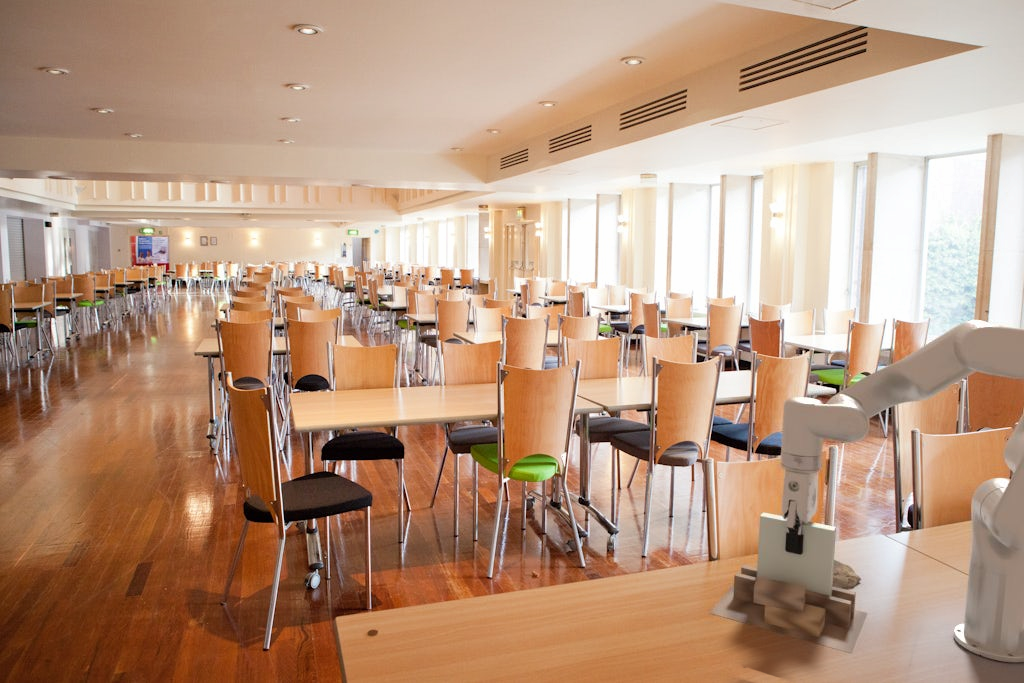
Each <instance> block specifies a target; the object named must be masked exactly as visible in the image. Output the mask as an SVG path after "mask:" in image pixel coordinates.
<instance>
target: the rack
mask: <svg viewBox="0 0 1024 683" xmlns="http://www.w3.org/2000/svg"><path fill="white" fill-rule="evenodd" d="M733 578H734V580H733V584H732V586H730V588H729V589H728V590H727V591H726V592H725V594H724V595H723V596H722V597H721V599H720V600H719V601H718V602H717V603H716V604H715V606H714V607H713V608H712V609H711V610H710V611H709V614H711V615H714V616H718V617H720V618H721V617H722V618H724V619H727V620H732V621H736V622H738V623H739V622H740V623H742V624H747V625H749V626H753V627H755V628H756V627H757V628H760V629H763V630H767V631H771V632H775V633H778V634H782V635H785V636H789V637H792V638H796V639H799V640H802V641H806V642H810V643H814V644H817V645H820V646H823V647H826V648H830V649H834V650H837V651H841V652H844V653H848V654H852V652H853V651H854V650H853V649H854V648H855V645H856V644H857V640H858V638H859V635H860V632H861V631H862V630H861V629H862V628H863V625H864V622H865V620H866V619H867V615H868V612H865V611H861V610H857V609H855V608H856V591H853V590H848V589H846V588H837V587H833V586H832V596H828V595H824V594H820V593H816V592H812V591H808V590H806V592H805V604H808V605H812V606H816V607H820V608H824V609H826V610H825V625H824V628H823V630H822V632H821V634H820V636H819V637H816V636H812V635H809V634H805V633H801V632H798V631H794V630H791V629H787V628H783V627H780V626H776V625H773V624H769V623H766V622H764V616H765V605H763V604H758V603H753V601H754V585H755V582H756V579H757V567H754V566H750V565H745V564H743V565H742V566H741V569H740V573H739V572H736V573H735V574H734V577H733Z"/></svg>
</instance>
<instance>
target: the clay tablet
mask: <svg viewBox="0 0 1024 683" xmlns="http://www.w3.org/2000/svg"><path fill="white" fill-rule="evenodd" d="M861 578H862V577H860V576H859V575H858V574H856V572H855V570H854V568H852V567H851V566H850V565H847V564H844V563H842V562H840V561H838V560H836V559H834V568H833V583H832V586H833V587H837V588H841V589H846V588H851V587H855V586H857V584H859V583H860V581H862V579H861Z"/></svg>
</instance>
